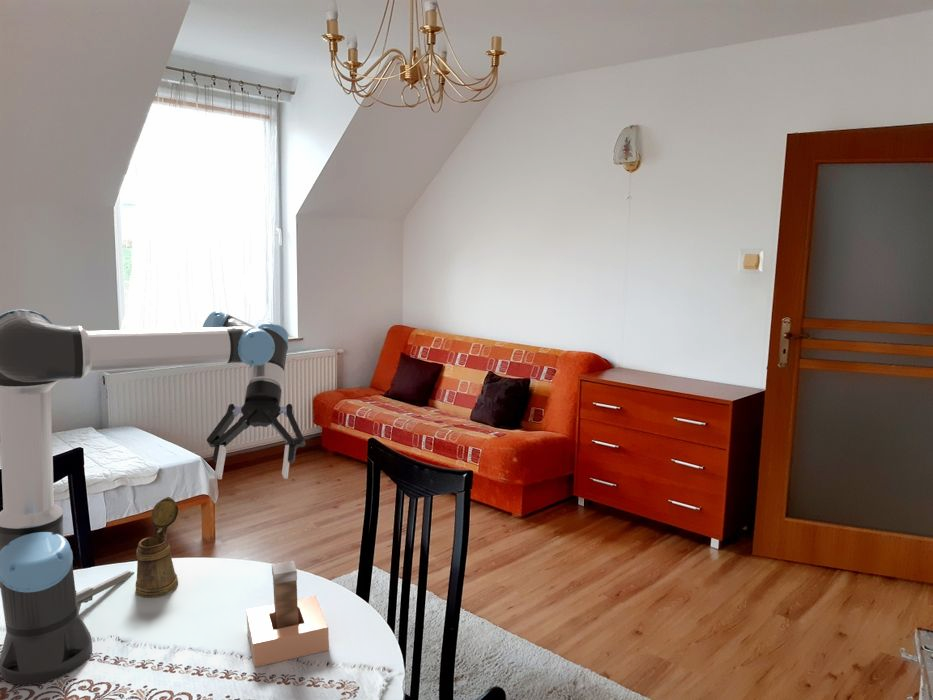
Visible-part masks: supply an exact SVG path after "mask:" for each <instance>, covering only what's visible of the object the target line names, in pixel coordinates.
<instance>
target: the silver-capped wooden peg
mask: <svg viewBox="0 0 933 700" xmlns="http://www.w3.org/2000/svg"><path fill="white" fill-rule="evenodd" d="M271 574H272V575H271V576H272V584H273V601H274V602H273V604H274V608H275V628H276V629H280V628H285V627H289V626H294V625H298V603H297V599H298V586H297V585H298V583H297V582H298V571H297V566H296V564H295V560H294V559H293V560H289V561H282V562H277V563H272V564H271Z"/></svg>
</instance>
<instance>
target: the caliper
mask: <svg viewBox="0 0 933 700" xmlns="http://www.w3.org/2000/svg"><path fill="white" fill-rule="evenodd" d="M134 574H135V572H134V571H131V570H126V571H123V572H121V573H119V574H117V575H115V576H113V577H111V578H109V579H107V580H105V581H102V582H100V583H99V584H97V585H94V586H93V587H91V586H88V587H86V588H84V589H82V590H80V591H76V599H77V608H78V613H79V614H80V611H81V606H82V604H83V603H88V602H90V601H92V600H93V597H94V596H95V595H98V594H100V593H102V592H104V591H105V590H107V589H109V588H112V587H114V586H115V585H117V584H120V583H122V582H123V581H125V580H127V579H128V578H130V577H131V576H132V575H134Z"/></svg>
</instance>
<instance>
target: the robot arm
mask: <svg viewBox="0 0 933 700" xmlns="http://www.w3.org/2000/svg"><path fill="white" fill-rule="evenodd" d="M203 322H204V323H203V325H202V327H181V328H179V327H178V328H177V327H175V328H150V329H149V328H147V329H146V328H145V329H143V328H142V329H115V330H113V329H112V330H109V329H108V330H87V329H85V328H83V327H82V326H81V325H61V324H60V325H59V324H53V322H52V321H51V320H50V319H49V318H47V317H46V316H45V315H44V314H42V313H39V312H37V311H33V310H29V309H12V310H9V311H5V312H3V313H1V314H0V461H1V462H0V463H1V464H0V466H1V485H2V486H1V487H2V508H3V509H2V510H1V511H0V594H1V595H0V596H1V602H2V608H3V615H4V616H3V617H4V623H5V631H6V632H5V637H4V640H3V644H2V648H1V652H0V676H1V678H2V679H3V680H4V679H5V680H6V682H7V681H8V682H7V683H9V682H11V683H10V684H12V683H13V684H12V685H17V684H20V685H19V686H30V685H29V684H32V685H39V684H43V683H47V682H50V681H55V680H57V679H59V678H62V677H63V676H66V675H68V674H69V673H71V672H73V671H75V670H76V669H77V668H80V667H81V666H82V665H83V664H85V662H87V660H88V659H89V658H90V656H91V654H92V652H93V639H92V634H91V633H90V631H89V629H88V627H87V626H86V624H85V622H84V621H83V619H82V617H81V615H80V612H79V613H78V608H77V599H76V593H77V590H76V584H75V583H76V582H75V575H74V567H73V560H74V556H73V550H72V548H71V545H70V543H69V541H68V540H67V538H65V536H64V511H63V508H62V507H60V506H59V505H57V504H56V503H55V502H54V501H55V499H54V494H55V491H54V457H53V429H52V427H53V423H52V421H53V419H52V393H51V392H52V391H51V390H52V388H53V387H54V386H56V385H57V383H58V382H59V381H62V380H65V381H66V380H75V379H84V378H85V376H87V375H88V374H89V373H97V372H98V373H99V372H112V371H114V372H115V371H130V370H146V369H158V368H175V367H189V366H191V367H192V366H194V367H195V366H208V365H223V364H246V365H249V373H248V378H247V386H246V391H245V396H244V403H243V405H242V406H235V404H234V403H230V404H228V406H227V410H226V413H225V414H224V416H223V417H222V418H221V420H220V421H219V422H218V424H217V425H216V426H215V428H213V430H212V431H211V433H210V434H209V436H208V437H207V438H206V442H207V444H208V445H209V447H210V448H214V449H213V454H212V459H213V462H214V463H215V464H216V465H215V471H214V476H215V477H216V479H217V480H222V479H223V474H224V466H225V461H226V456H227V449H226V447H227V446H228V445H229V444H230V443H231V442H232V441H233V440H234V439H236V437H238V436H239V435H240V434H241V433H242V432H243V431H244V430H247V429H248V428H249V427H250V426H252V428H257V427H263V428H267V427H268V426H270V425H271V427H272V428H274V430H275V431H276V432H277V433H278V435H280V437H281V438H282V439H283V441H284V442H285V443H286V444H285V445H284V453H283V459H282V460H283V463H282V469H281V474H282V478H283V479H284V480H288V479H289V471H290V463H291V464H293V463H294V462H295V461H296V453H297V449H298V448H300V447H302V448H303V447H305V446H306V441H305V438H304V436H303V434H302V432H301V429H300V427H299V425H298V423H297V421H296V418H295V410H294V406H293V405H292V404H291V403H288V404H286V406H280V405H281V397H282V393H283V392H282V388H283V384H284V376H285V369H286V368H285V367H286V361H287V360H286V359H287V353H288V349H289V333H288V331H287V330H286V329H285V327H283V326H282V325H280V324H278V323H274V324H273V323H271V322H266V323H262V324H260V325H258V326H255V325H252V324H250V323H247V322H245V321H244V320H241V319H239V318H237V317H234V316H232V315H230V314H229V313H225V312H221V311H219V310H213V311H212V312H211V313H209V315H207V317H206V319H205V321H203ZM239 414H242V416H240V417H239ZM281 414H283V415H284V417H286V418H288V422H289V424H290V426H291V428H292V431H293V433H294V435H295V437H296V439H294V438H293V437H292V436H291V435H290V433H289V432H288V431H287V429H285V428H284V426H283V425H282V424H281V422H280V421H279V419H278V417H279V416H280V415H281ZM237 417H239V418H238V420H237V421H236V423H234V424H233V421H234V420H235V418H237ZM232 424H233V425H232ZM231 425H232V426H231ZM229 427H230V428H229ZM228 428H229V429H228ZM5 680H4V681H5ZM42 682H43V683H42ZM38 683H39V684H38ZM26 684H28V685H26Z"/></svg>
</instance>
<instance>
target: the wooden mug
mask: <svg viewBox="0 0 933 700" xmlns="http://www.w3.org/2000/svg"><path fill="white" fill-rule="evenodd" d="M152 508H153V509H152V511H151V516H150V517H151V518H150V519H151V522H152V524H153V525H154V527H155V531H154V534H153V536H148V537H145V538H142V539H141V540H140V541H139V542H138V544H137V548H136V559H137V566H136V567H137V568H136V580H135V592H134V593H135V594H136V595H137V596H139V597H142V598H149V599H151V598H158V597H162V596H165V595H168V594H169V593H172V592H174V590H176V589H177V587H178V585H179V579H178V574H177V573H176V571H175V566H174V562H173V559H172V555H171V551H172V550H171V545H170V543H169V540H168V534H167V532H168V528H169V526H171V525H172V524H173V523H174V522H175V521H176V520H177V517H178V513H179V507H178V504H177V502H176V501H175V500H174V499H173V498H171V497H170V496H167V497H164V498H163V499H161V500H159V502H157V503H156V504H155V505H154V506H153V507H152Z"/></svg>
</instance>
